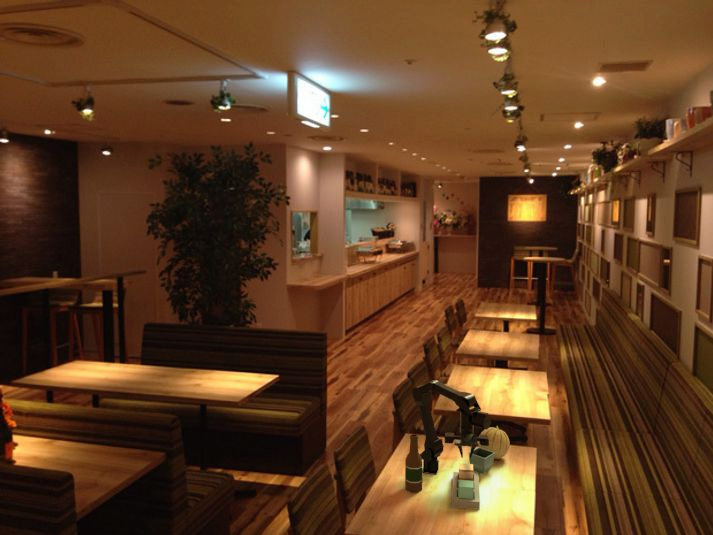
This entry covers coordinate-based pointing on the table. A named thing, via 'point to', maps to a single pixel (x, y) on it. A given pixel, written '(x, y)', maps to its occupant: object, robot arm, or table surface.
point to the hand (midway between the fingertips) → (466, 457)
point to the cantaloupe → (496, 442)
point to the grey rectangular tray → (465, 502)
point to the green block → (465, 489)
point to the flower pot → (481, 460)
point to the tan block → (466, 476)
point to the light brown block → (465, 467)
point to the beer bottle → (413, 467)
